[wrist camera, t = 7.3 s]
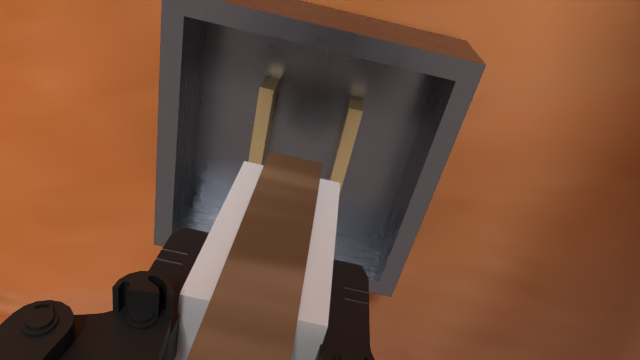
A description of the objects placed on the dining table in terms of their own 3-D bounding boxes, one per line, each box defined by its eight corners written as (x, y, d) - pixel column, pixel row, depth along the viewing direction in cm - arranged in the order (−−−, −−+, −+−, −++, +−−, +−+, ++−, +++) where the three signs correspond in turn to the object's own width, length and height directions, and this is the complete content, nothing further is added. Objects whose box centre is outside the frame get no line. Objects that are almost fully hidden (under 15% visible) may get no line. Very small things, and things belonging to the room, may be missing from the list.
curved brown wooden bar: (269, 151, 17) (115, 536, 6) (322, 163, 17) (257, 564, 6) (257, 216, 18) (119, 614, 8) (306, 227, 18) (233, 636, 8)
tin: (195, -25, 19) (162, -14, 16) (466, 40, 19) (486, 65, 16) (180, 203, 25) (154, 244, 22) (387, 249, 25) (391, 296, 22)
